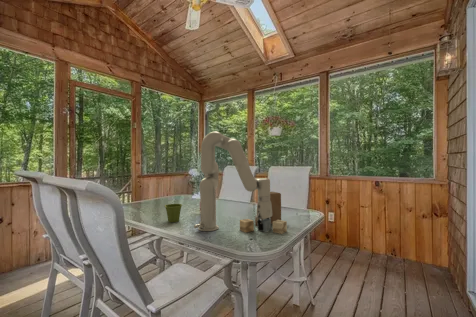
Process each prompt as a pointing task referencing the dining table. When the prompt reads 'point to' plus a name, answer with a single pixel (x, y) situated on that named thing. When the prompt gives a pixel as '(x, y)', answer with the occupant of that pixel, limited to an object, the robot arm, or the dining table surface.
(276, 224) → the cube maple
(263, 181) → the robot arm
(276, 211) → the block
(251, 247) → the dining table surface
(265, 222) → the cube slate
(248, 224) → the cube oak
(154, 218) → the dining table surface
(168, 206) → the plant pot
